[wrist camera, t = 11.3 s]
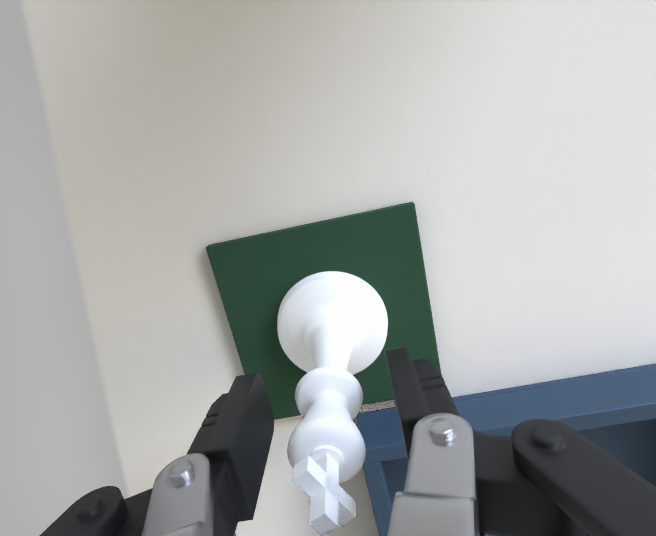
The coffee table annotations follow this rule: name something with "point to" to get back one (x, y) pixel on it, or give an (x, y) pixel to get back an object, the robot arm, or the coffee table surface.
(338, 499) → the chess piece
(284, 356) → the pad
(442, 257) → the coffee table surface
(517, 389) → the tray
